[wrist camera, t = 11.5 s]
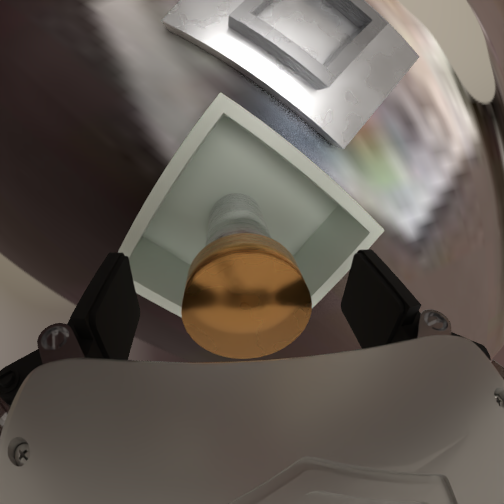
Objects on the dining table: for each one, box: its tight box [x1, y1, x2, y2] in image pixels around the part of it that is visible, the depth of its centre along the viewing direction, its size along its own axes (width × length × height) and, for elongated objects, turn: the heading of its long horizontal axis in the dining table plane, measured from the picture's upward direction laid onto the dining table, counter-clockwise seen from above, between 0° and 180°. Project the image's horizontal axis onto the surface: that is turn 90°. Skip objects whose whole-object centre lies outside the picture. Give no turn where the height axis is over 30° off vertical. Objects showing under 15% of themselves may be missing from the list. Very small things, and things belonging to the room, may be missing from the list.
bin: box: [118, 92, 384, 317], centre depth 17 cm, size 11×11×6 cm
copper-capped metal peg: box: [181, 193, 312, 359], centre depth 14 cm, size 5×5×10 cm
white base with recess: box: [161, 0, 419, 149], centre depth 12 cm, size 14×10×4 cm
